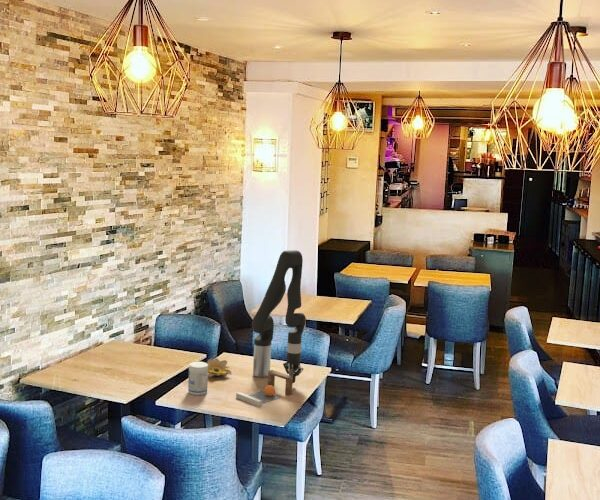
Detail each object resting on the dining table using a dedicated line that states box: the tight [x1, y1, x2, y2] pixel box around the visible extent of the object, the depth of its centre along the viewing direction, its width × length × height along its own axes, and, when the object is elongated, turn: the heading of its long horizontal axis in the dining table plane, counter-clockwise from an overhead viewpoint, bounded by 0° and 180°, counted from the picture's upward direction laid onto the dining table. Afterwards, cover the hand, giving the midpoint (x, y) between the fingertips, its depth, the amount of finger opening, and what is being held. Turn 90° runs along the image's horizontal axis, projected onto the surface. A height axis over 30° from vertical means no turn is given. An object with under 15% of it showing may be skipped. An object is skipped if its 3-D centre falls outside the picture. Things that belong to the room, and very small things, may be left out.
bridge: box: [267, 369, 294, 397], centre depth 354 cm, size 3×14×9 cm, turn 48°
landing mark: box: [248, 390, 281, 405], centre depth 345 cm, size 13×13×1 cm
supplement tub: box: [187, 361, 209, 396], centre depth 347 cm, size 10×10×15 cm
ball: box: [263, 384, 276, 396], centre depth 347 cm, size 6×6×6 cm
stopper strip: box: [235, 391, 263, 407], centre depth 339 cm, size 2×16×2 cm, turn 48°
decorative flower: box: [206, 357, 232, 378], centre depth 373 cm, size 15×11×10 cm
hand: (292, 382), depth 362 cm, fingers closed
